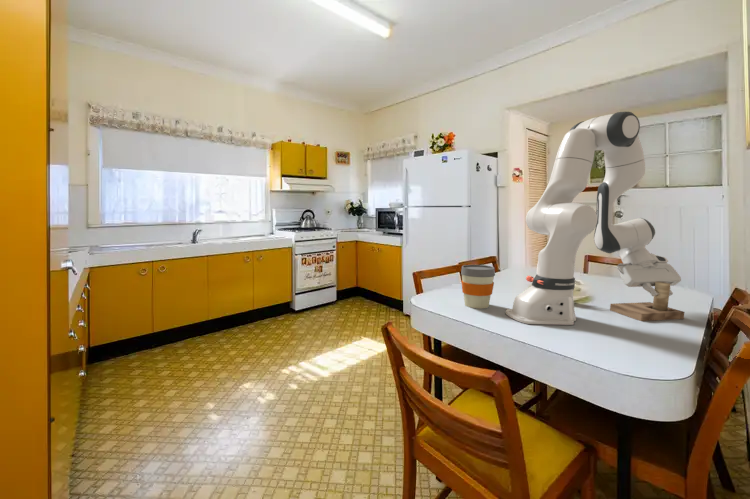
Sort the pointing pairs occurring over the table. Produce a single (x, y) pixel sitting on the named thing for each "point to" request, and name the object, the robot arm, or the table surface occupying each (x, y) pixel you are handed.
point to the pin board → (645, 311)
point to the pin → (661, 296)
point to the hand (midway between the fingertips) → (663, 295)
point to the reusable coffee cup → (477, 285)
